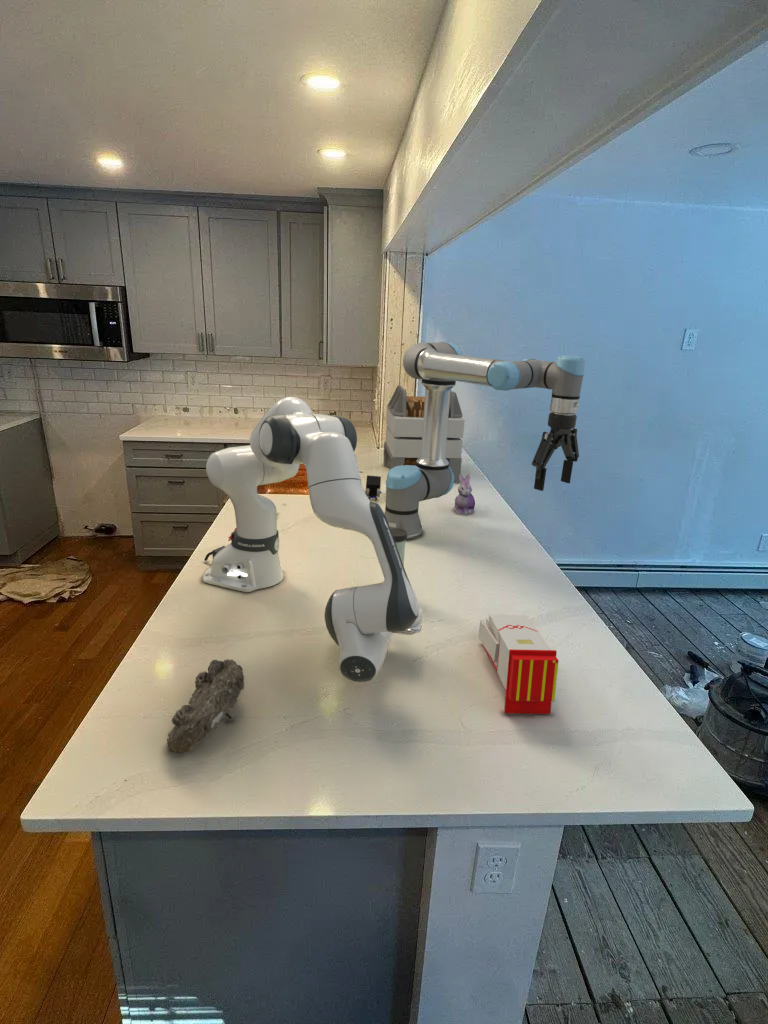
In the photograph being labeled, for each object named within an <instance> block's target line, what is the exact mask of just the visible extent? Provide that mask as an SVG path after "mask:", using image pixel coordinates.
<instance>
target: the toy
mask: <svg viewBox="0 0 768 1024" xmlns="http://www.w3.org/2000/svg"><path fill="white" fill-rule="evenodd" d="M477 635H478V637H477V638H478V639H479V641H480V643H481V645H482V647H483V649H484V651H485V652H486V654H487V655H488V658H489V659H490V661H491V663H492V665H493V667H494V669H495V671H496V672H497V675H498V677H499V679H500V682H501V684H502V685H503V688H504V690H505V699H504V709H503V712H504V714H522V715H523V714H528V715H535V714H536V715H540V714H541V715H551V710H552V702H555V700H556V699H555V698H556V688H557V679H558V672H559V671H558V669H559V661H560V660H559V659H558V658H557V649H551V648H550V646H549V645H548V643H547V642H546V640H545V639H544V638H543V636H542V635H541V634H540V632H539V630H538V629H536V626H535V624H533V622H532V619H530V618H529V617H528V615H527V614H501V613H500V614H495V613H493V614H492V613H489V614H488V616H486V617H485V622H484V620H483V619H480V620H479V628H478V634H477Z"/></svg>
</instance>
